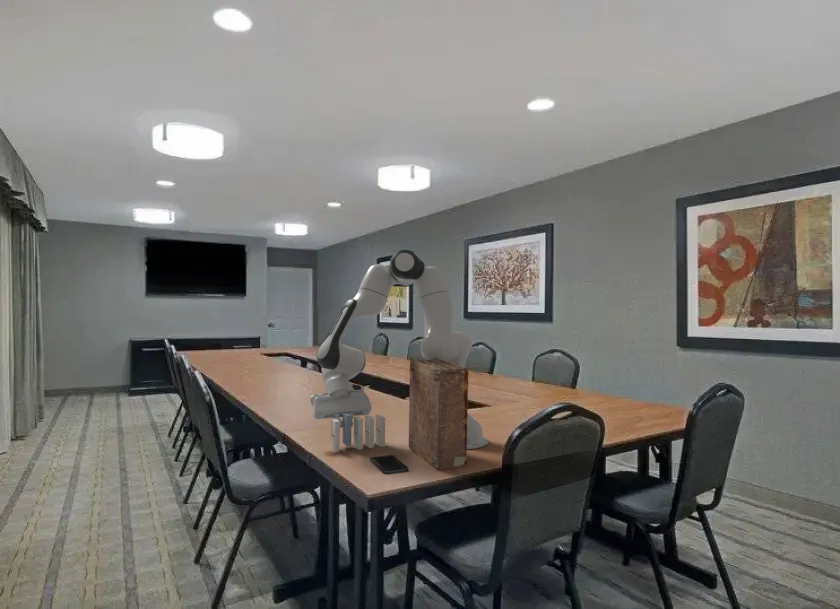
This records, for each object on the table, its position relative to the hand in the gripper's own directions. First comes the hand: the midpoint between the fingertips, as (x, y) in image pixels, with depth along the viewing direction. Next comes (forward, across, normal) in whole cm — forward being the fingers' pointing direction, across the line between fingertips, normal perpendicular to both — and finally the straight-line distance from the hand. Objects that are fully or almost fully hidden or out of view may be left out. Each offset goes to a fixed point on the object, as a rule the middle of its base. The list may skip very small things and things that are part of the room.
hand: (346, 426), depth 172 cm
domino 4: (+6, +8, +5) cm, 11 cm away
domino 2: (+5, 0, +4) cm, 6 cm away
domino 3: (+6, +4, +4) cm, 8 cm away
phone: (+22, +6, -11) cm, 26 cm away
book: (+21, +23, -10) cm, 33 cm away
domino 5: (+6, +12, +5) cm, 14 cm away
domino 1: (+6, -4, +4) cm, 8 cm away
